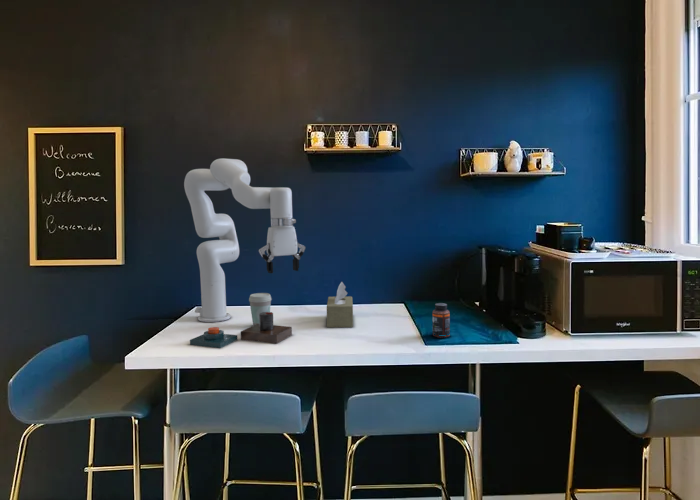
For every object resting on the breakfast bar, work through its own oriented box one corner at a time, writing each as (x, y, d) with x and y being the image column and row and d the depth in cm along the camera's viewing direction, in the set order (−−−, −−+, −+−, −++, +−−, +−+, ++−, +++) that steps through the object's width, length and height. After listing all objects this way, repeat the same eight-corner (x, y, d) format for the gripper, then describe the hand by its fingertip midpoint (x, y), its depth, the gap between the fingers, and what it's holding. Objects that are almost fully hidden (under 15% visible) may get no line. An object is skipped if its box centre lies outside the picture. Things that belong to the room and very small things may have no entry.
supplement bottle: (450, 334, 177) (451, 302, 176) (448, 339, 171) (448, 306, 170) (433, 333, 179) (434, 301, 178) (430, 337, 173) (431, 305, 172)
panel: (240, 339, 173) (240, 331, 173) (257, 331, 183) (257, 323, 183) (276, 343, 168) (276, 334, 168) (292, 335, 178) (291, 326, 178)
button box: (189, 344, 168) (189, 334, 168) (208, 336, 177) (208, 327, 177) (220, 348, 164) (219, 337, 163) (237, 340, 173) (237, 330, 173)
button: (206, 334, 169) (205, 329, 169) (212, 331, 172) (212, 326, 172) (215, 335, 168) (214, 330, 168) (221, 332, 171) (221, 327, 171)
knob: (256, 330, 174) (256, 313, 173) (264, 326, 178) (263, 310, 178) (269, 331, 172) (268, 314, 172) (276, 327, 177) (275, 311, 176)
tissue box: (353, 327, 188) (352, 285, 186) (326, 327, 188) (326, 286, 186) (352, 315, 206) (352, 277, 205) (328, 315, 206) (328, 277, 205)
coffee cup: (253, 330, 186) (252, 298, 184) (246, 324, 193) (245, 294, 192) (275, 327, 190) (274, 295, 188) (268, 322, 197) (267, 291, 196)
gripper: (299, 221, 183) (300, 268, 185) (254, 223, 174) (256, 272, 176) (308, 222, 177) (310, 270, 179) (262, 224, 168) (264, 275, 170)
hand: (283, 271), depth 177 cm, fingers open, 9 cm apart
